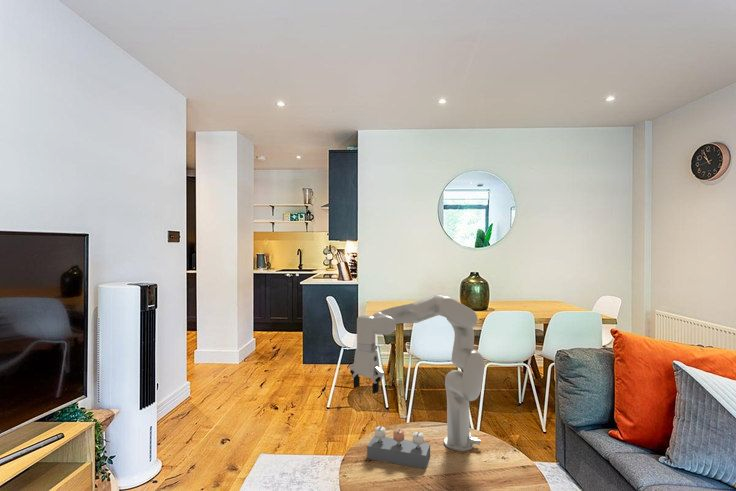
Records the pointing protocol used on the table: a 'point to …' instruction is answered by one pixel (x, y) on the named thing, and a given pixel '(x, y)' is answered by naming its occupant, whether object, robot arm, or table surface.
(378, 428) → the knob far
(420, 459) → the control rail
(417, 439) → the knob near
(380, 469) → the table surface
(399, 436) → the knob middle
